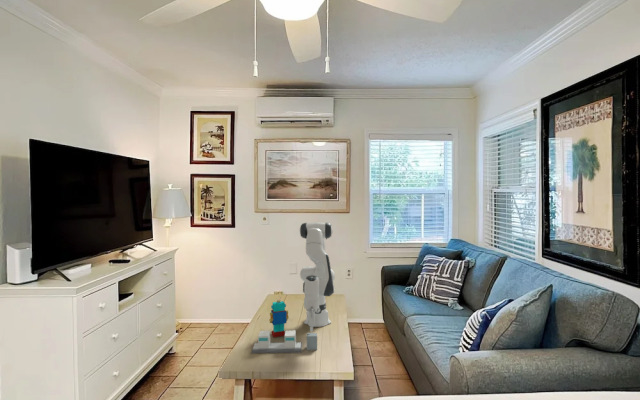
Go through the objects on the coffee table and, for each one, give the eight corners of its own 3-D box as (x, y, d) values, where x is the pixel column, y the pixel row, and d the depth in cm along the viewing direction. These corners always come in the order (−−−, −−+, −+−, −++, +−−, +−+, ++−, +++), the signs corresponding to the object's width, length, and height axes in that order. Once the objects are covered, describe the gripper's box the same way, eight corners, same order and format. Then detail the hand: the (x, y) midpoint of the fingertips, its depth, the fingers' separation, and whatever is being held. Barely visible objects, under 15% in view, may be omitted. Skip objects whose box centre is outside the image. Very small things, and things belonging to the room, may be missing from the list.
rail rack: (254, 345, 213) (254, 330, 213) (301, 344, 214) (301, 329, 213) (251, 353, 202) (251, 337, 202) (301, 352, 203) (301, 336, 202)
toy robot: (286, 332, 233) (286, 293, 232) (288, 335, 227) (288, 296, 226) (268, 334, 228) (268, 295, 228) (270, 338, 223) (270, 298, 222)
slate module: (306, 346, 210) (306, 333, 210) (316, 346, 210) (316, 333, 210) (306, 350, 206) (306, 336, 206) (317, 349, 206) (317, 336, 206)
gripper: (317, 309, 197) (317, 335, 197) (316, 299, 218) (316, 322, 218) (306, 309, 197) (305, 335, 197) (306, 299, 218) (306, 322, 217)
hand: (311, 328), depth 207 cm, fingers open, 8 cm apart
